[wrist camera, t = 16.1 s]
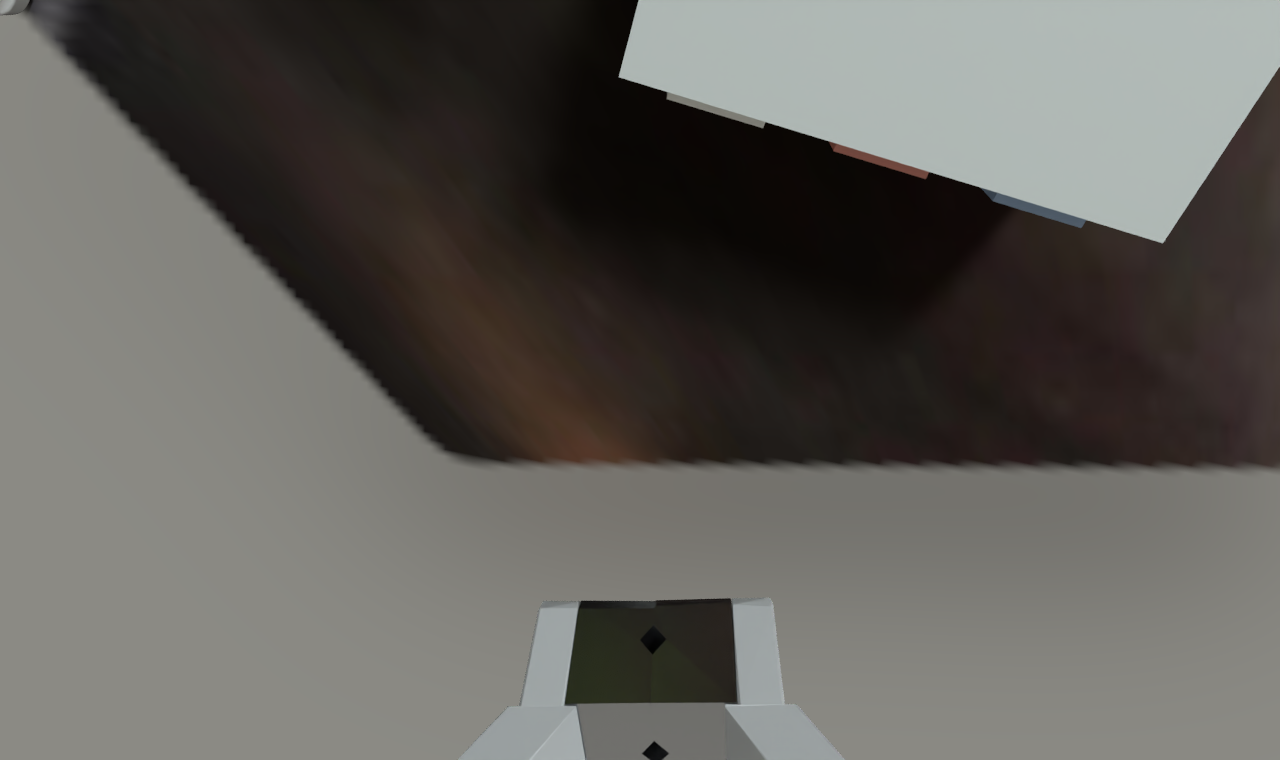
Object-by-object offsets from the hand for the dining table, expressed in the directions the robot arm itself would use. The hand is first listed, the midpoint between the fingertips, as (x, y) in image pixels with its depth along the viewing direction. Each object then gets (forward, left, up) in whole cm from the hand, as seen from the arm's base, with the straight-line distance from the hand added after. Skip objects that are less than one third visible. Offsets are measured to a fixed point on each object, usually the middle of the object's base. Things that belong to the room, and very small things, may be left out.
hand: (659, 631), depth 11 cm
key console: (+10, +3, -35) cm, 37 cm away
